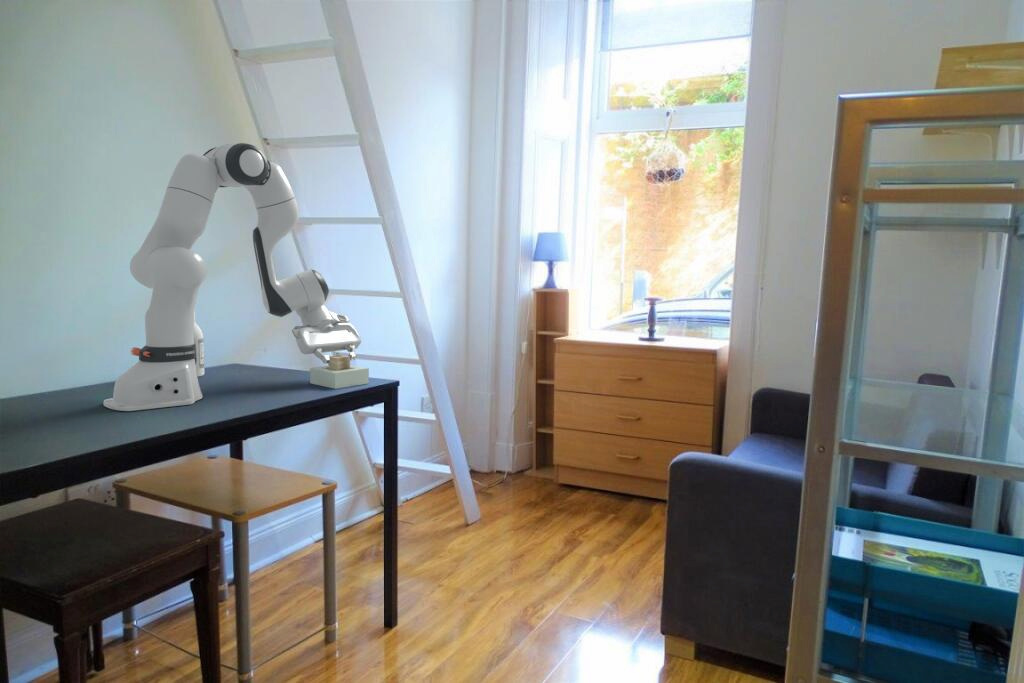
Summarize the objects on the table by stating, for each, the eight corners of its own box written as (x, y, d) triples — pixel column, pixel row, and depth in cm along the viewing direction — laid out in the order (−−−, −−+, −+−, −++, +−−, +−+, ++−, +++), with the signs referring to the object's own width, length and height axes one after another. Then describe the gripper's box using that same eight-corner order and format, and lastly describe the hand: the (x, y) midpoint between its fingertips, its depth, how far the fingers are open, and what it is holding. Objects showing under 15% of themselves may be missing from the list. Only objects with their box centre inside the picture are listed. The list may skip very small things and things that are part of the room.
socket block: (335, 388, 200) (335, 373, 200) (310, 383, 208) (310, 368, 207) (368, 383, 209) (368, 368, 209) (343, 378, 217) (343, 363, 216)
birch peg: (337, 385, 206) (337, 358, 205) (328, 383, 208) (328, 356, 207) (350, 383, 209) (349, 356, 208) (340, 381, 212) (340, 355, 211)
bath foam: (199, 373, 221) (197, 309, 218) (207, 376, 216) (205, 310, 213) (176, 375, 216) (173, 310, 214) (184, 378, 211) (181, 311, 209)
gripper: (294, 319, 203) (315, 357, 198) (351, 316, 218) (372, 350, 213) (285, 334, 206) (305, 371, 201) (343, 329, 222) (363, 363, 217)
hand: (340, 360), depth 207 cm, fingers open, 8 cm apart
